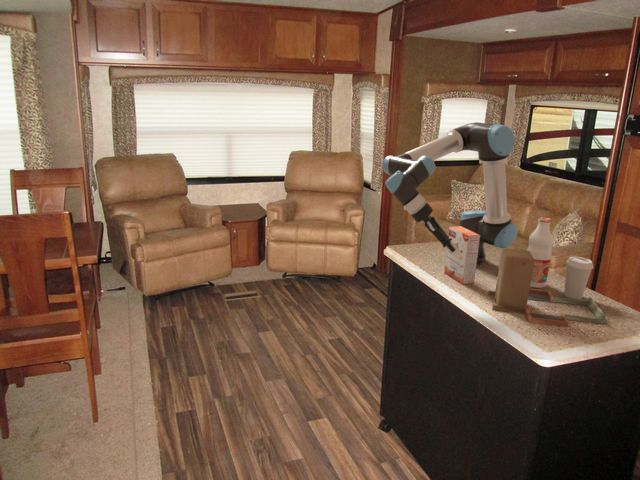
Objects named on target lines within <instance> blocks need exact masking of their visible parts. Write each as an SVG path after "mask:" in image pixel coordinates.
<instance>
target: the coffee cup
mask: <svg viewBox="0 0 640 480" xmlns="http://www.w3.org/2000/svg"><path fill="white" fill-rule="evenodd" d="M565 264H566V269H565V281H564V291H563V296H565V297H566V298H567V299H576V300H583V298H584V293H585V291H586V287H587V284H588V281H589V279H590V278H589V277H590V276H591V272H592V269H594V264H593V261H592V260H591V259H589V258H586V257H582V256H581V257H580V256H570V257H569V258H568V259H567V260H566V262H565Z"/></svg>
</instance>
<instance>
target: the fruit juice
mask: <svg viewBox="0 0 640 480" xmlns="http://www.w3.org/2000/svg"><path fill="white" fill-rule="evenodd" d="M537 222H538V224H537V225H536V228H535V229H534V230H533V232H531V234H530V235H529V238H528V247H527V248H526V251H529V252H530V253H531V255H532V256H533V258H534V260H535V261H534V267H533V272H532V278H531V284H530V288H534V289H535V288H536V289H542V288H545V287H546V284H547V281H548V275H549V269H550V264H551V260H552V253H553V252H552V247H553V245H554V236H553V235H552V233H551V229H550V228H551V226H550V225H551V224H552V219H551V218H550V217H545V216H544V217H543V216H541V217H538V218H537Z"/></svg>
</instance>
